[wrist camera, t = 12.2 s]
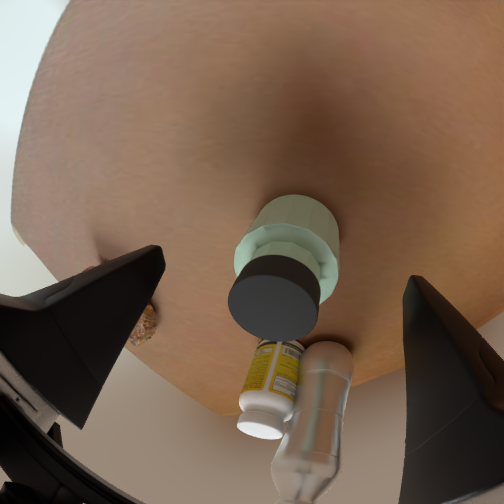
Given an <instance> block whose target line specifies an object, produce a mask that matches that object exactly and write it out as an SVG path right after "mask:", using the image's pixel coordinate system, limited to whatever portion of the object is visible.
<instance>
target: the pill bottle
mask: <svg viewBox="0 0 504 504" xmlns="http://www.w3.org/2000/svg"><path fill="white" fill-rule="evenodd" d="M304 350H305V348H304V347H303V346H302V345H301V344H300V343H299V342H297V341H295V340H293V341H288V342H274V341H269V340H265V339H264V340H263V341H262V342H260V344H259V345H258V347H257V350H256V353H255V356H254V358H253V361H252V364H251V367H250V369H249V372H248V375H247V378H246V380H245V383H244V386H243V389H242V392H241V394H240V398H239V405H240V407H241V409H242V410H243V411H244V412H243V413H242V414H241V415H240V417H239V420H238V423H237V427H238V428H239V429H240V430H241V431H242V432H244V433H246V434H249V435H251V436H255V437H258V438H264V439H278V438H280V437H282V436H283V432H284V429H285V421H287V420H289V419H291V414H292V411H293V407H294V402H295V396H296V389H297V383H298V366H299V360H300V358H301V355H302V353H303V352H304Z"/></svg>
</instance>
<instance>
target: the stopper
mask: <svg viewBox="0 0 504 504" xmlns="http://www.w3.org/2000/svg"><path fill="white" fill-rule="evenodd" d="M320 297H321V289H320V284H319V282H318V280H317V278H316V276H315V275H314V273H313V272H312V271H311V270H310V269H309V268H308V267H307V266H306V265H304V264H303V263H301V262H300V261H298V260H296V259H293V258H291V257H288V256H283V255H264V256H260V257H257V258H255V259H253V260H251V261H249V262H248V263H247V264H246V265H245V266H244V267H243V269H242V270H241V272H240V274H239V276H238V277H237V279H236V281H235V283H234V285H233V286H232V288H231V290H230V293H229V296H228V306H229V310H230V313H231V315H232V316H233V318H234V320H235V321H236V322H237V323H238V324H239V325H240V326H241V327H242V328H243V329H244V330H246V331H247V332H249V333H250V334H252V335H254V336H256V337H259V338H262V339H265V340H269V341H274V342H288V341H293V340H297V339H300V338H302V337H304V336H305V335H307V334H308V333H309V332H310V331H311V330H312V329H313V328H314V326H315V324H316V322H317V317H318V311H319V304H320Z"/></svg>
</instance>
